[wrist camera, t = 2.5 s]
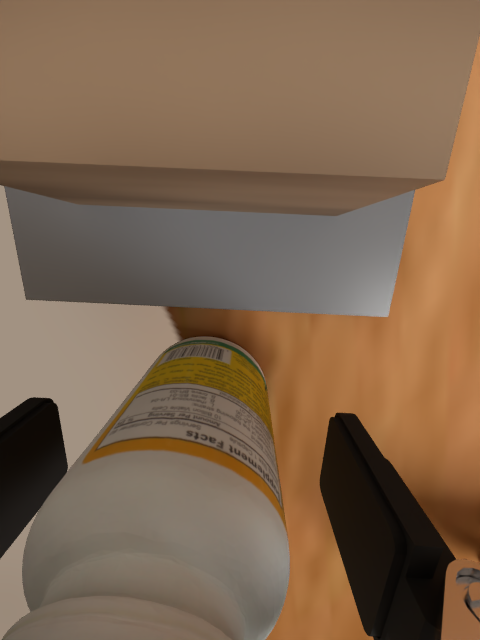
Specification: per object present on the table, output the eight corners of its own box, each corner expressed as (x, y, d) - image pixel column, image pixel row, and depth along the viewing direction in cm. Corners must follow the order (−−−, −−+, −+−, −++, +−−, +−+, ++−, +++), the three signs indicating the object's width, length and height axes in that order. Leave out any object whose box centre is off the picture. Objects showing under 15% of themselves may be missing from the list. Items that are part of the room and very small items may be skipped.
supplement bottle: (208, 308, 11) (-29, 698, 1) (290, 391, 12) (459, 933, 2) (126, 385, 12) (-304, 885, 3) (208, 455, 13) (111, 994, 4)
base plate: (-71, -352, 6) (-116, -436, 5) (507, -335, 6) (545, -419, 5) (41, 295, 11) (26, 299, 10) (377, 311, 11) (388, 317, 10)
